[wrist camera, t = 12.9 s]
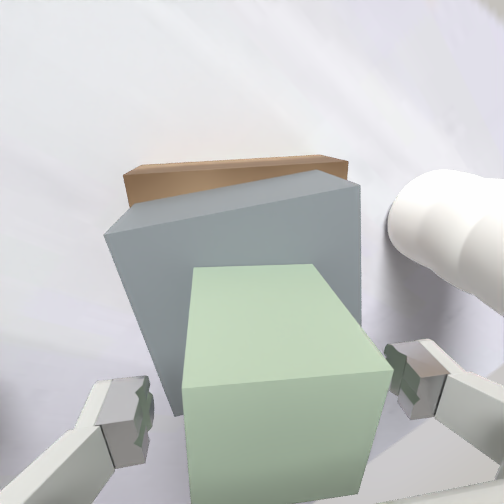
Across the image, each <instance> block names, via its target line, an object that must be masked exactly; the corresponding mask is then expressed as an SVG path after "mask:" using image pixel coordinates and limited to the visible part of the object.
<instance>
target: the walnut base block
mask: <svg viewBox="0 0 504 504" xmlns="http://www.w3.org/2000/svg"><path fill="white" fill-rule="evenodd" d="M316 169H317V170H320V171H323V172H325V173H328V174H331V175H334V176H336V177H339V178H342V179H345V180H347V173H348V161H345V160H341V159H336V158H332V157H327V156H323V155H306V156H289V157H271V158H254V159H237V160H219V161H202V162H185V163H167V164H150V165H141V166H139V167H137V168H135V169H133V170H131V171H129V172H128V173H126V174H124V175H123V178H124V183H125V187H126V192H127V197H128V202H129V206H130V208H131V207H132V206H133V205H134V204H136V203H141V202H146V201H152V200H157V199H162V198H167V197H173V196H178V195H183V194H189V193H194V192H199V191H205V190H210V189H215V188H221V187H226V186H231V185H237V184H242V183H247V182H253V181H258V180H263V179H269V178H274V177H279V176H285V175H290V174H295V173H300V172H306V171H311V170H316Z"/></svg>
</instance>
